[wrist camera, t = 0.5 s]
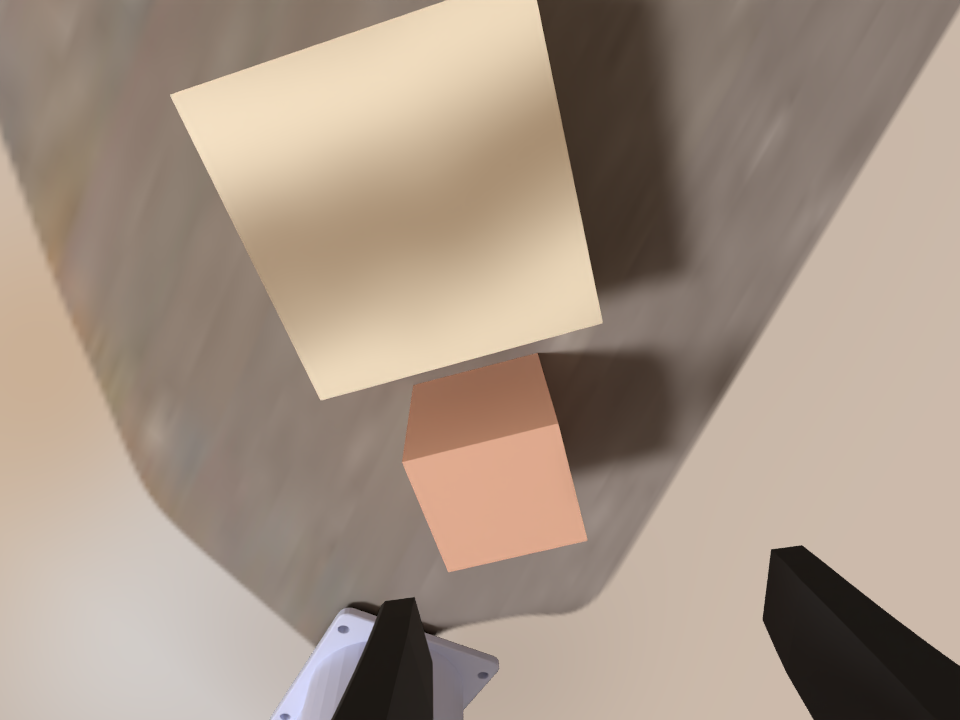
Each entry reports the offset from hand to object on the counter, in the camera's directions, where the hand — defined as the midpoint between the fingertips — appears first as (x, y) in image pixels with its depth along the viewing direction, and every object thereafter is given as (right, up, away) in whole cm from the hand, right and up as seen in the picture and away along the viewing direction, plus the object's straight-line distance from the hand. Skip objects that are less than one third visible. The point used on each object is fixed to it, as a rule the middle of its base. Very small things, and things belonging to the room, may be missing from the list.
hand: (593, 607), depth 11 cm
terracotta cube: (-2, +3, +9) cm, 10 cm away
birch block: (-4, +10, +6) cm, 12 cm away
